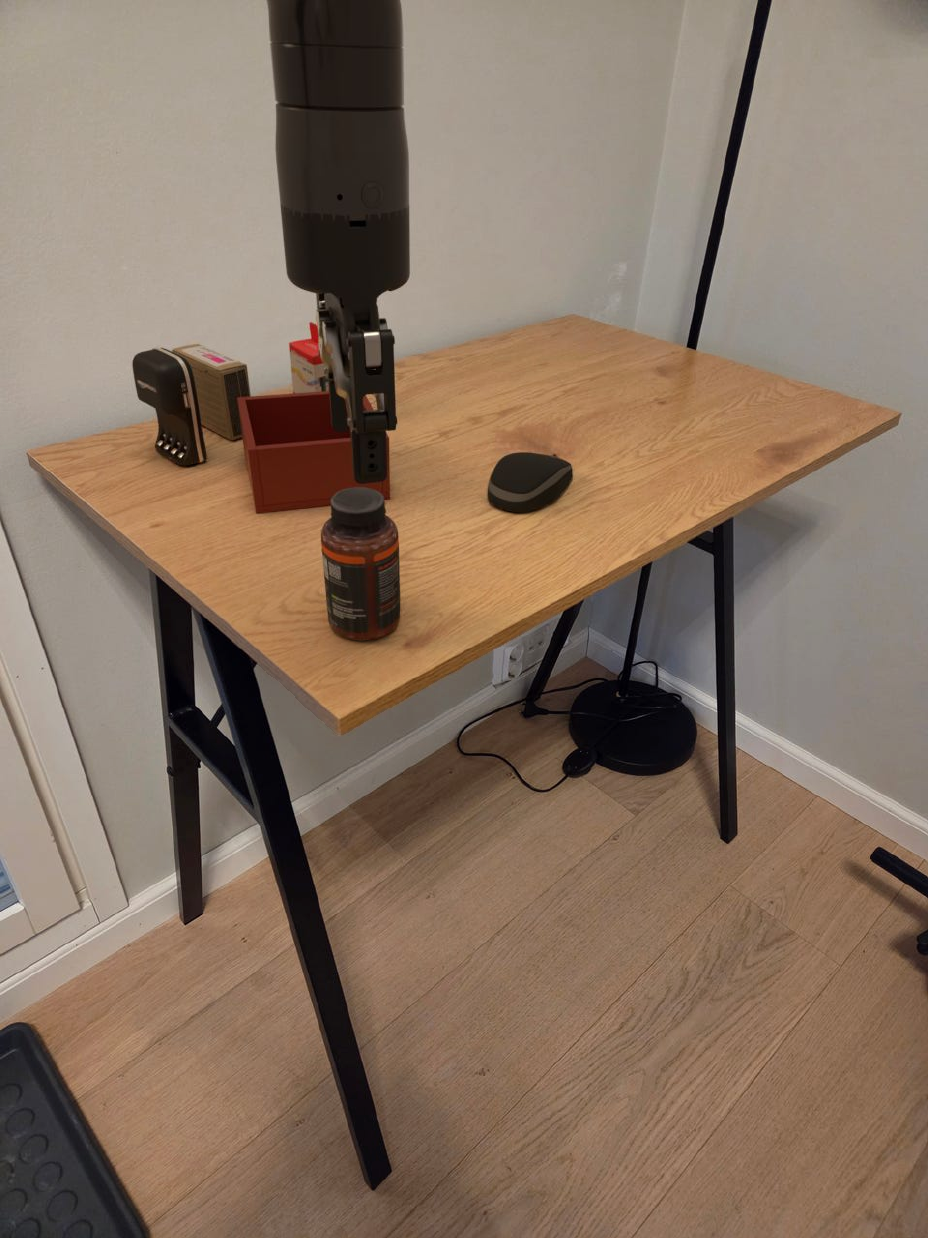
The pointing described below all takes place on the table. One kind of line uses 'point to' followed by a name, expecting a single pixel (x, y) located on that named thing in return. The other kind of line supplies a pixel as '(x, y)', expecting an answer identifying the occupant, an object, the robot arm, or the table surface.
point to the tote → (297, 451)
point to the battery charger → (171, 404)
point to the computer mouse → (528, 481)
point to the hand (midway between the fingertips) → (357, 453)
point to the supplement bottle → (361, 565)
